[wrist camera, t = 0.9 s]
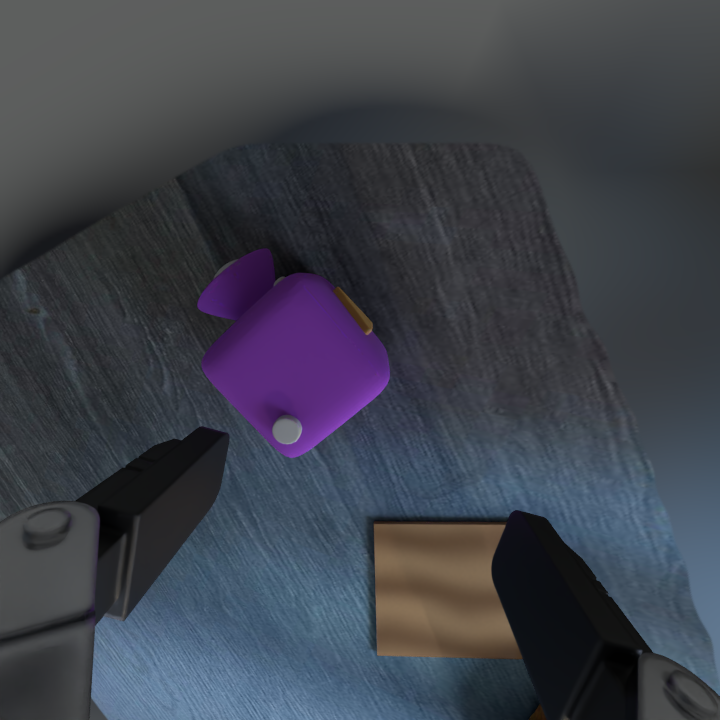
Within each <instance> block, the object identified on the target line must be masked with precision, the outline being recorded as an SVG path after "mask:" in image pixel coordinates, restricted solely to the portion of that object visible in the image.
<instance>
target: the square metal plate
mask: <svg viewBox="0 0 720 720" xmlns="http://www.w3.org/2000/svg"><path fill="white" fill-rule="evenodd" d="M506 523H507V522H395V521H374V555H375V593H376V631H377V656H413V657H451V658H490V659H523V658H522V656H521V653H520V650H519V648H518V645H517V643H516V640H515V638H514V635H513V633H512V630H511V627H510V625H509V622H508V620H507V617H506V615H505V612H504V609H503V607H502V604H501V602H500V599H499V597H498V594H497V591H496V589H495V586H494V584H493V580H492V573H491V566H492V559H493V556H494V553H495V551H496V548H497V546H498V543H499V541H500V538H501V536H502V533H503V531H504V528H505V526H506Z"/></svg>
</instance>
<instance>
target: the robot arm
mask: <svg viewBox="0 0 720 720" xmlns="http://www.w3.org/2000/svg"><path fill="white" fill-rule="evenodd" d="M228 445H229V434H228V433H225V432H221V431H217V430H214V429H210V428H206V427H202V426H201V427H199V428H197V429H196V430H195V431H193V432H192V433H191V434H190V435H188V436H187V437H186V438H184V439H183V440H182V441H181V440H177V439H172V440H169V441H166V442H163V443H160V444H157V445H154V446H153V447H152V448H150V449H149V450H147V451H146V452H144V453H143V454H142V455H140V456H139V458H138V459H137V458H136V459H134V460H133V461H132V462H130V463H129V464H127V465H126V467H125V468H122V469H120V470H119V471H117V472H116V473H114V474H113V475H112V476H110V477H109V478H107V479H106V480H104V481H103V482H102V483H100V484H99V485H97V486H96V487H94V488H93V489H92V490H90V491H89V492H87V493H86V494H84V495H83V496H82V497H80V498H79V499H77V500H76V501H54V502H48V503H42V504H38V505H34V506H31V507H28V508H25V509H23V510H20V511H18V512H16V513H14V514H12V515H10V516H8V517H7V518H5V519H4V520H2V521H1V522H0V720H89V718H90V699H91V684H92V668H93V651H94V634H95V626H96V624H97V623H98V622H99V621H100V620H101V618H102V617H103V616H105V617H109V618H112V619H116V620H120V621H125V619H126V618H127V617H128V615H129V614H130V613H131V611H132V610H133V609H134V607H135V606H136V605H137V604H138V602H139V601H140V600H141V598H142V597H143V596H144V594H145V593H146V592H147V590H148V589H149V588H150V587H151V585H152V584H153V583H154V581H155V580H156V579H157V577H158V576H159V575H160V574H161V572H162V571H163V570H164V568H165V567H166V566H167V564H168V563H169V562H170V560H171V559H172V558H173V557H174V555H175V554H176V553H177V551H178V550H179V549H180V547H181V546H182V545H183V543H184V542H185V541H186V540H187V538H188V537H189V536H190V534H191V533H192V532H193V530H194V529H195V528H196V526H197V525H198V524H199V523H200V521H201V520H202V519H203V517H204V516H205V515H206V513H207V512H208V511H209V509H210V508H211V507H212V505H213V503H214V502H215V500H216V497H217V495H218V492H219V490H220V486H221V482H222V477H223V472H224V466H225V461H226V456H227V451H228ZM491 573H492V580H493V584H494V586H495V589H496V591H497V594H498V597H499V599H500V602H501V604H502V607H503V609H504V612H505V615H506V617H507V620H508V622H509V625H510V627H511V630H512V633H513V635H514V638H515V640H516V643H517V645H518V648H519V650H520V653H521V656H522V658H523V661H524V663H525V666H526V668H527V671H528V674H529V676H530V679H531V681H532V684H533V686H534V689H535V692H536V694H537V697H538V699H539V702H540V704H541V707H542V710H543V712H544V715H545V717H546V720H720V696H719V695H718V694H717V693H716V692H715V691H714V690H712V689H711V688H710V687H709V686H708V685H707V684H706V683H705V682H703V681H702V680H701V679H700V678H698V677H697V676H696V675H695V674H693V673H692V672H690V671H689V670H688V669H686V668H685V667H683V666H681V665H680V664H678V663H677V662H675V661H673V660H671V659H669V658H667V657H664V656H662V655H659V654H655V653H653V652H652V651H651V649H650V648H649V647H648V645H647V644H646V643H645V641H644V640H643V639H642V637H641V636H640V635H639V633H638V632H637V631H636V629H635V628H634V627H633V625H632V624H631V623H630V621H629V620H628V619H627V617H626V616H625V615H624V613H623V612H622V611H621V609H620V608H619V607H618V605H617V604H616V603H615V601H614V600H613V599H612V597H609V596H608V592H607V591H606V590H605V588H604V587H603V586H602V584H601V583H600V582H599V581H597V580H596V576H595V575H594V574H593V572H592V571H591V570H590V568H589V567H588V566H587V564H586V563H585V562H584V560H583V559H582V558H581V557H580V556H578V555H577V554H576V553H575V552H574V551H573V550H572V549H571V548H570V547H568V546H567V545H566V544H565V543H564V542H563V540H562V539H561V538H560V536H559V535H558V534H557V532H556V531H555V529H554V528H553V527H552V525H551V524H550V523H549V521H548V520H547V519H546V518H544V517H541V516H537V515H534V514H530V513H526V512H522V511H518V510H515V511H513V512H512V513H511V514H510V516H509V518H508V521H507V523H506V526H505V528H504V531H503V533H502V536H501V538H500V541H499V543H498V546H497V548H496V551H495V553H494V556H493V559H492V566H491Z"/></svg>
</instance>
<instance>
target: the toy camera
mask: <svg viewBox="0 0 720 720" xmlns="http://www.w3.org/2000/svg"><path fill="white" fill-rule="evenodd" d="M197 307H198V309H199V310H201V311H202V312H205V313H207V314H211V315H215V316H219V317H223V318H227V319H232V320H236V322H235V323H234V324H233V325H232V326H231V327H230V328H229V329H228V330H227V331H225V332H224V333H223V334H222V335H221V336H220V337H219V338H218V339H217V340H216V341H215V342H214V343H213V345H212V346H211V347H210V348H209V349H208V350H207V352H206V353H205V355H204V357H203V359H202V369H203V372H204V373H205V375H206V376H207V378H208V379H209V380H210V381H211V382H212V384H213V385H214V386H215V387H216V388H217V389H218V390H219V391H220V392H221V393H222V394H223V395H224V396H225V398H226V399H227V400H228V401H229V402H230V403H231V404H232V405H233V406H234V407H235V408H236V409H237V410H238V411H239V412H240V413H241V414H242V415H243V416H244V417H245V418H246V419H247V420H248V421H249V422H250V423H251V424H252V426H253V427H254V428H255V429H256V430H257V431H258V432H259V433H260V434H261V435H262V436H263V437H264V438H265V439H266V440H267V441H268V442H269V443H270V444H271V445H272V446H273V447H274V448H275V449H276V450H278V451H279V452H280V453H282V454H283V455H284V456H287V457H290V458H292V457H297V456H300V455H302V454H304V453H305V452H307V451H308V450H310V449H311V448H313V447H314V446H315V445H317V444H318V443H319V442H321V441H322V440H323V439H324V438H326V437H327V436H328V435H329V434H331V433H332V432H333V431H334V430H336V429H337V428H338V427H339V426H341V425H342V424H343V423H344V422H346V421H347V420H348V419H349V418H351V417H352V416H353V415H354V414H356V413H357V412H358V411H359V410H361V409H362V408H363V407H364V406H366V405H367V404H368V403H369V402H370V401H372V400H373V399H374V398H375V397H376V396H377V395H378V394H380V393H381V391H382V390H383V389H384V388H385V387H386V385H387V383H388V381H389V376H390V370H389V362H388V356H387V352H386V349H385V347H384V345H383V344H382V342H381V341H380V340H379V338H378V337H377V336H376V335H375V334H374V332H373V331H372V328H373V323H372V322H371V321H370V319H369V318H368V317H367V316H366V315H365V314H364V313H363V312H362V311H361V310H360V309H359V308H358V307H357V306H356V305H355V304H354V302H353V301H352V300H351V299H350V298H349V297H348V296H347V295H346V294H345V293H344V292H343V291H342V290H341V289H340V288H339V287H336V288H335V287H334V286H333V285H332V284H331V283H330V282H329V281H328V280H326V279H325V278H324V277H321V276H319V275H316V274H311V273H295V274H292V275H289V276H287V277H280V278H278V279H277V280H275V270H274V263H273V258H272V254H271V251H270V250H269V249H266V248H264V249H258V250H256V251H253V252H251V253H249V254H247V255H245V256H243V257H241V258H240V259H237V260H233V261H231V262H229V263H227V264H225V265H224V266H223V267H221V268H220V269H219V270H218V272H217V273H216V275H215V276H214V278H213V280H212V281H211V282H210V283H209V285H208V286H207V287H206V288H205V290H204V291H203V292H202V294H201V296H200V298H199V300H198V304H197Z"/></svg>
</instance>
